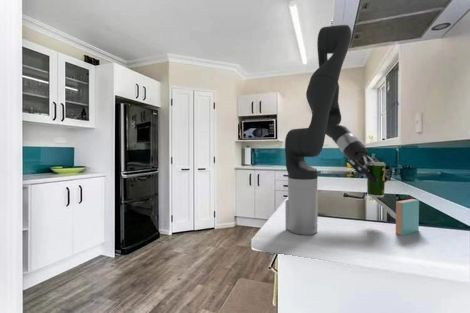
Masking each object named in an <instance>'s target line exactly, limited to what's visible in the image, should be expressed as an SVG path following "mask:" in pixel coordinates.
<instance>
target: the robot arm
mask: <svg viewBox="0 0 470 313" xmlns="http://www.w3.org/2000/svg"><path fill="white" fill-rule="evenodd" d="M352 31H353V30H352V28H351V26H349V25H348V24H340V25H330V26H323V27H321V28H320V29H319V32H318V35H317V42H316V43H317V45H316V48H317V57H318V59H317V60H318V68H317V69H316V70H315V71H314V72H313V74H312V75H311V77H310V78H309V82H308V85H307V88H306V93H305V96H306V101H307V103H308V106H309V108H310V110H311V120H310V123H309V126H308V127H303V128H302V127H301V128H293V129H290V130H289V131H288V132H287V134H286V136H285V140H284V153H285V156H284V157H285V169H286V171H287V200H285V230H287V231H289V232H291V233H293V234H296V235H304V236H306V235H307V236H308V235H315V234H317V232H318V174H319V173H318V170H317V169H316V168H315V167H313V166H310V165H309V164H308V163H307V162H306V161H305V158H315V157H318V156H319V155H320V153H321V152H322V150H323V147H324V144H325V138H326V136H328V137H329V138H330V139H332V141H333V142H334V143H335V144H336V145H337V147H338V149H339V150H340V152H341V153H342V154H343V155H344V156H345V158H346V159H347V160H348V162H347V163H348V164H349V165H350V166H351V167H352V169H354V170H355V171H356V172H357V173H358V174H359V175H363V176H366V177H367V178H368V179H369V180H370V181H371V182H372V183H376V182H377V181H378V179H377V178H376V176H375V175H374V174H373V173H372V172H370V169H369V167H368V166H369V165H368V162H380V160H378V158H377V157H373V158H372V157H370V156H369V155H368V149H367V147H366V146H365V145H364V144H363V142H362V141H360V140H359V138H358V137H357V136H355V135H354V134H353V133H352V132H351V131H350V130H349V129H348V127H347V126H345V124H340V123H341V121H342V114H341V109H340V104H339V94H340V85H339V79H340V76H341V70H342V67H343V66H344V65H343V64H344V62H345V60H346V56H347V53H348V51H349V48H350V45H351V41H352V35H353V32H352ZM329 54H332V55H330V57H329V56H328V55H329ZM367 178H366V179H367ZM388 181H389V177H388V176H387V175H386V174H385V183H386V182H388Z"/></svg>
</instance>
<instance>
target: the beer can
mask: <svg viewBox="0 0 470 313" xmlns="http://www.w3.org/2000/svg"><path fill="white" fill-rule="evenodd" d="M368 165H369V166H368V167H369V169H370V172H372V173H373V174H374V175H375V176H376V178H377V179H378V181H377V182H376V183H372V182H371V181H370V180H369V179H368V178H366V179H367V180H366V184H367V185H366V194H367V196H368V197H371V198H384V196H385V187H386V186H385V183H386V182H385V175H386V164H385V162H382V161H379V162H368Z"/></svg>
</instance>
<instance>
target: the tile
mask: <svg viewBox="0 0 470 313" xmlns="http://www.w3.org/2000/svg"><path fill="white" fill-rule="evenodd" d="M419 216H420V200H419V199H415V198H409V199H403V200H398V201H395V234H397V235H400V236H406V235H409V234H413V233H416V232H418V231H419V229H420V228H419V226H420V225H419V221H420V218H419Z"/></svg>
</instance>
